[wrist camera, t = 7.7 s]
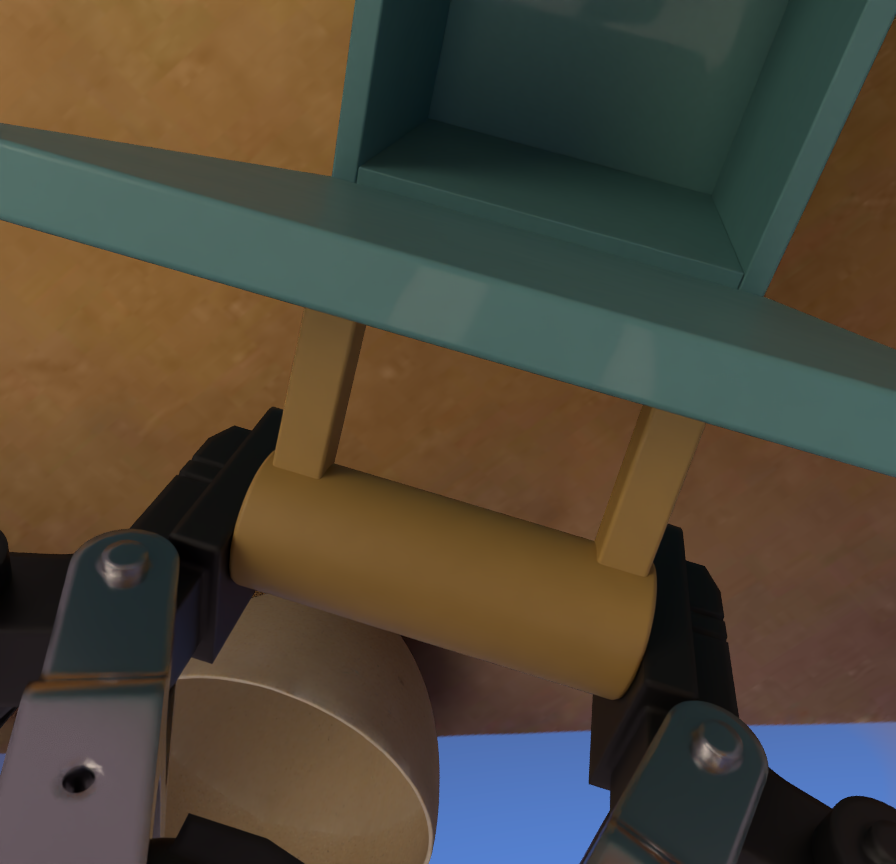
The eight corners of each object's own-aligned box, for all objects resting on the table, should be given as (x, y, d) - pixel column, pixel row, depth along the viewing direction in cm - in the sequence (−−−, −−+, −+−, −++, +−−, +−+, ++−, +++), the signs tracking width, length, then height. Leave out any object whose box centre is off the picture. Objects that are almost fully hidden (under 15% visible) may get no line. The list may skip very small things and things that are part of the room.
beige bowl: (469, 533, 43) (421, 706, 33) (477, 747, 52) (441, 935, 42) (176, 508, 47) (49, 657, 36) (230, 713, 55) (141, 879, 45)
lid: (-135, 100, 8) (-148, 563, 9) (1247, 489, 7) (979, 919, 9) (327, 175, 23) (294, 342, 25) (767, 297, 23) (703, 461, 24)
